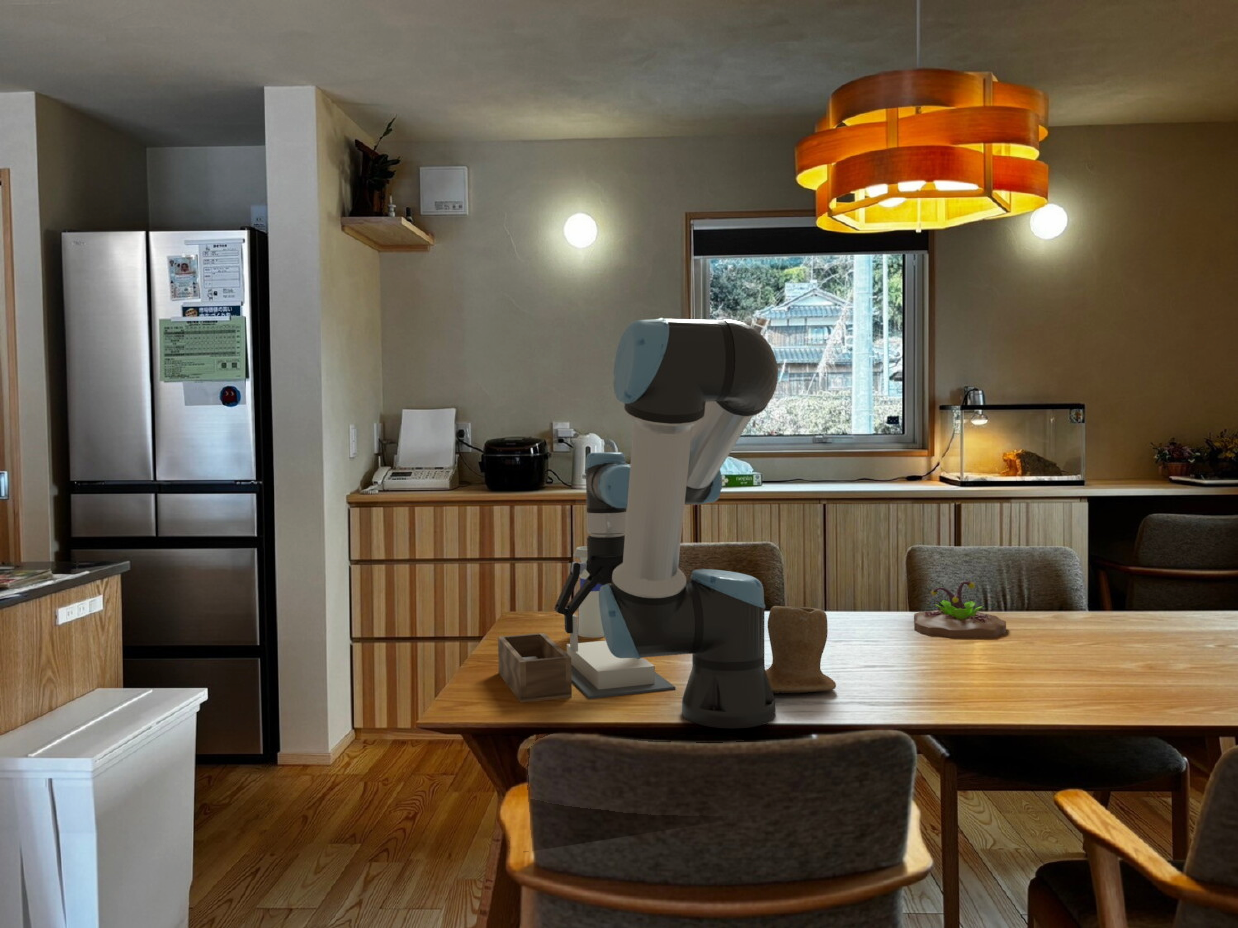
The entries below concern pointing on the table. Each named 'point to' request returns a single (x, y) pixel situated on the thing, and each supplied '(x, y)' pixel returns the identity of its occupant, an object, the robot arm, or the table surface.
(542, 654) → the walnut box
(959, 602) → the plant
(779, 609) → the brown suede boot shape
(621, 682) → the lid
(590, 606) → the water bottle
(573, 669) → the rubber mat
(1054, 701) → the table surface
